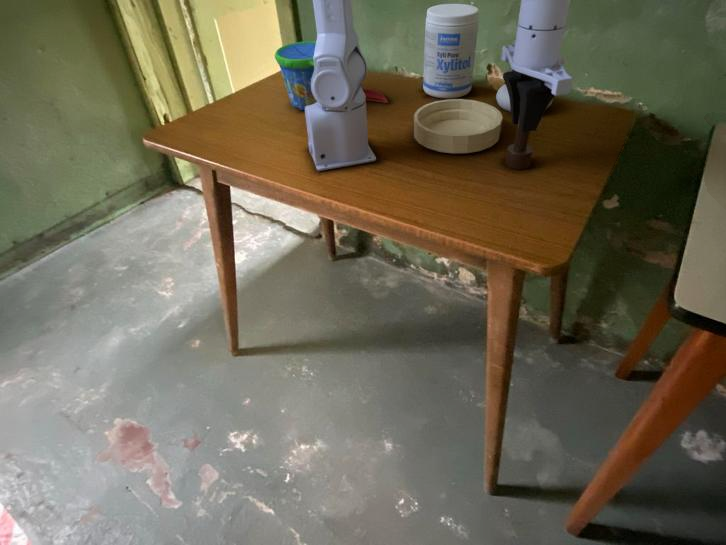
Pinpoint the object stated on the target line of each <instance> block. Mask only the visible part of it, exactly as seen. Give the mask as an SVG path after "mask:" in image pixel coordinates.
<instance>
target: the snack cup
mask: <svg viewBox="0 0 726 545" xmlns="http://www.w3.org/2000/svg"><path fill="white" fill-rule="evenodd" d="M315 46H316V41H313V40H311V41H297V42H293V43H292V42H291V43H288V44H284V45H282V46H281V47H279V48H278V49H276V50H275V53H274V59H275V61H276V63H277V64H278V66H279V68H280V73H281V76H282V79H283V82H284V86H285V89H286V92H287V95H288V100H289V102H290V105H291V106H292V107H294V108H296V109H298V110H300V111H305V107H306V106H309V105H312V104H315V103H316V102H317V101H316V99H315V98H314V96H313V94H312V91H311V79H312V76H313V73H314V59H313V57H314V51H315Z"/></svg>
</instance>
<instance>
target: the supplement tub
mask: <svg viewBox="0 0 726 545" xmlns="http://www.w3.org/2000/svg"><path fill="white" fill-rule="evenodd" d="M479 13H480V11H479V8H478V7H476V6H474V5H472V4H465V3H443V4H442V3H441V4H436V5H433V6H431V7H429V8H428V9H427V10H426V17H425V28H424V29H425V31H424V48H423V49H424V54H423V75H422V76H423V77H422V89H423V91H424V93H426V94H427V95H429V96H430V97H433V98H438V99H444V100H447V99H459V98H461V97H463V96H467V95H468V94H469V93H470V92H471V90H472V87H473V86H472V85H473V79H474V68H475V60H476V49H477V40H478V31H479V19H480V17H479Z"/></svg>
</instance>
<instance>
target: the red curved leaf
mask: <svg viewBox="0 0 726 545" xmlns="http://www.w3.org/2000/svg"><path fill="white" fill-rule="evenodd" d="M362 90H363V92H364V93H365V96H366V102H377V103H384V104H388V103H389V102H388V99H387V98H386V97H385V96H384V94H382V93H381V92H379V91H377V90H373V89H370V88H369V89H368V88H362Z"/></svg>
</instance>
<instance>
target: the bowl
mask: <svg viewBox="0 0 726 545" xmlns="http://www.w3.org/2000/svg"><path fill="white" fill-rule="evenodd" d="M503 119H504V118H503V115H502V112H501V111H500V110H499V109H498V108H496V107H495V106H493V105H491V104H489V103H486V102H482V101H478V100H475V99H466V98H465V99H464V98H451V99H441V100H436V101H433V102H430V103H426V104H424V105H423V106H420V107H419V108H418V109H417V110H416V111H415V112H414V114H413V138H414V139H415V140H416V142H417V143H418V144H420V145H421V146H423V147H425V149H430V150H432V151H436V152H439V153H445V154H446V153H447V154H471V153H476V152H477V153H478V152H481V151H484V150H486V149H490V148H491V147H493V146H494V145H495V144H496V143H497V142H499V140H500V137H501V134H502V126H503Z"/></svg>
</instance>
